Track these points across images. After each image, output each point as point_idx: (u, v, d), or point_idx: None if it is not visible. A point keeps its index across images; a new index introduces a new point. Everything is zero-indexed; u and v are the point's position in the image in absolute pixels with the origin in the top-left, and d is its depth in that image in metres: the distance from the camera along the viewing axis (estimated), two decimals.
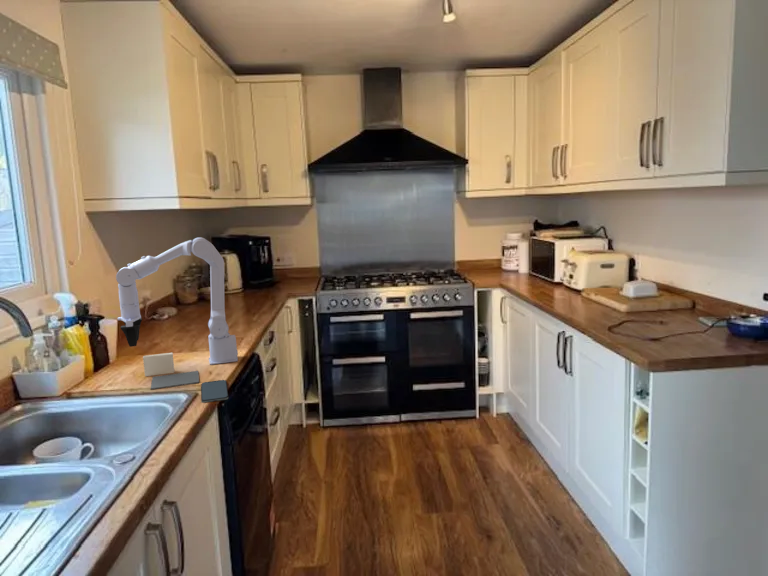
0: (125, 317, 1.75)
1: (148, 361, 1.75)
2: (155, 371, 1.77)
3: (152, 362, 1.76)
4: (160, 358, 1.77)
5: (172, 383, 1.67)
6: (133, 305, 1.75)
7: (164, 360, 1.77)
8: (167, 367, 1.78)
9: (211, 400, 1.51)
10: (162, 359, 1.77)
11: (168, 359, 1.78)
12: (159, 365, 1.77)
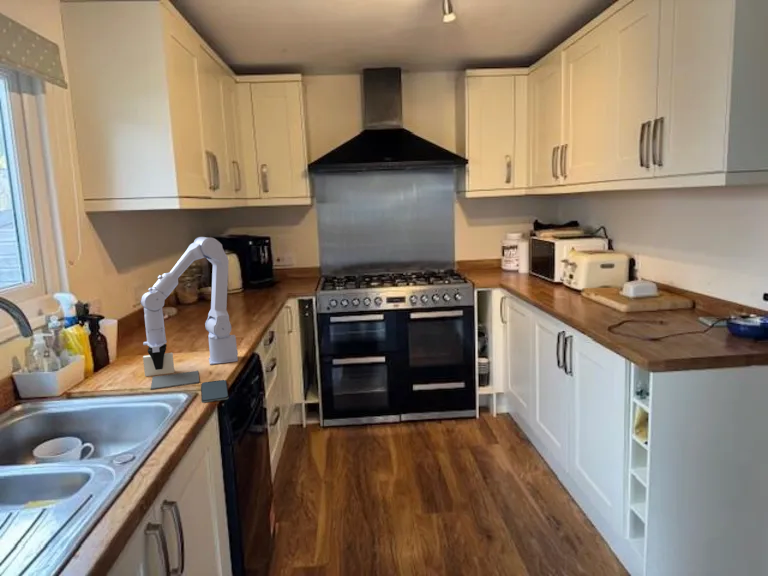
0: (151, 342, 1.74)
1: (148, 361, 1.75)
2: (155, 371, 1.77)
3: (152, 362, 1.76)
4: None
5: (172, 383, 1.67)
6: (159, 330, 1.74)
7: (164, 360, 1.77)
8: (167, 367, 1.78)
9: (211, 400, 1.51)
10: None
11: (168, 359, 1.78)
12: None
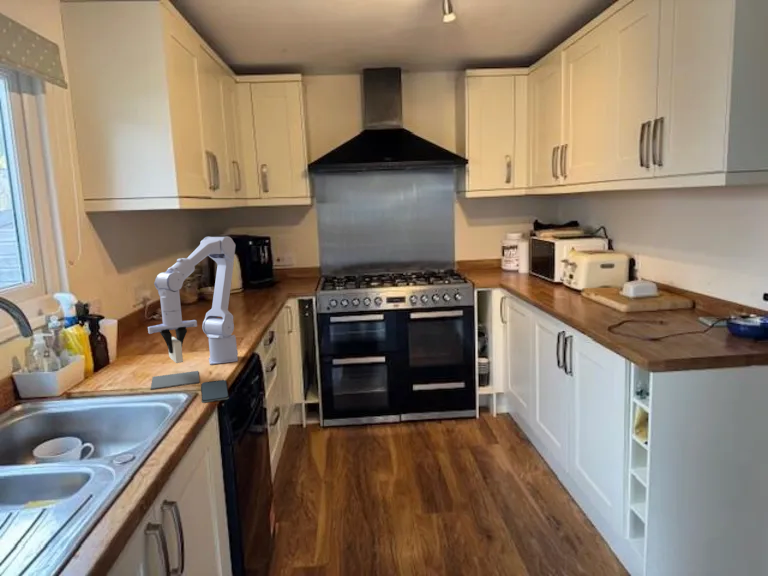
0: None
1: None
2: (171, 355, 1.72)
3: None
4: None
5: (172, 383, 1.67)
6: (164, 313, 1.66)
7: (172, 347, 1.69)
8: (174, 355, 1.69)
9: (211, 400, 1.51)
10: (172, 345, 1.69)
11: (173, 347, 1.68)
12: None
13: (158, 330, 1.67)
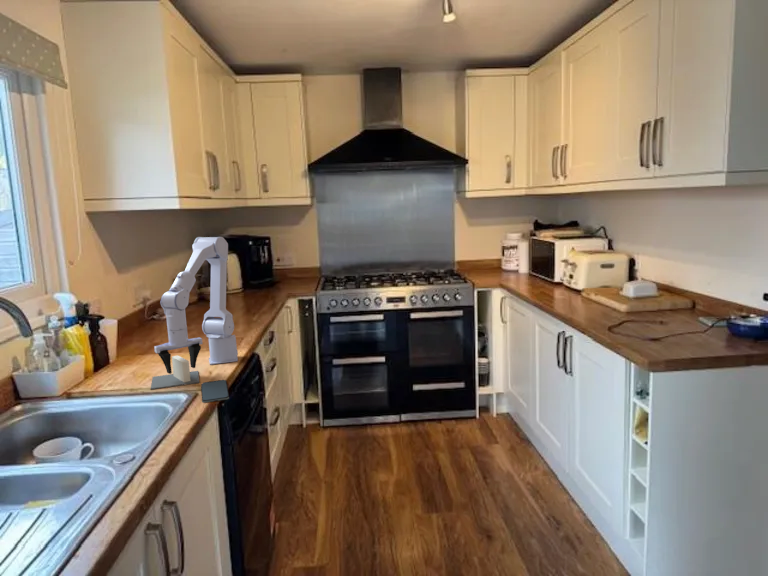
0: (169, 341, 1.69)
1: (173, 362, 1.72)
2: (177, 374, 1.71)
3: (175, 364, 1.71)
4: (178, 363, 1.69)
5: (172, 383, 1.67)
6: (171, 331, 1.66)
7: (179, 366, 1.68)
8: (181, 374, 1.68)
9: (211, 400, 1.51)
10: (178, 364, 1.69)
11: (181, 366, 1.67)
12: (178, 369, 1.70)
13: (165, 349, 1.66)
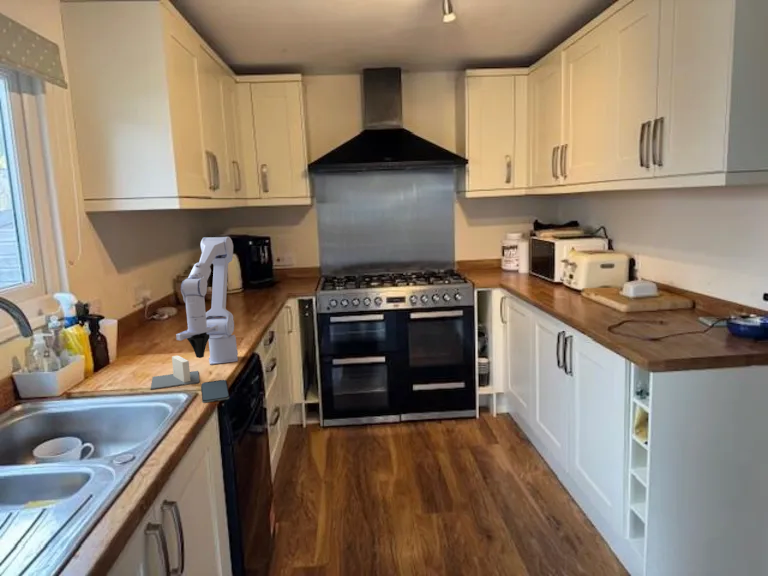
0: (188, 329, 1.69)
1: (173, 362, 1.72)
2: (177, 374, 1.71)
3: (175, 364, 1.71)
4: (178, 363, 1.69)
5: (172, 383, 1.67)
6: (192, 318, 1.67)
7: (179, 366, 1.68)
8: (181, 374, 1.68)
9: (212, 400, 1.51)
10: (178, 364, 1.69)
11: (181, 366, 1.67)
12: (178, 369, 1.70)
13: (186, 336, 1.67)
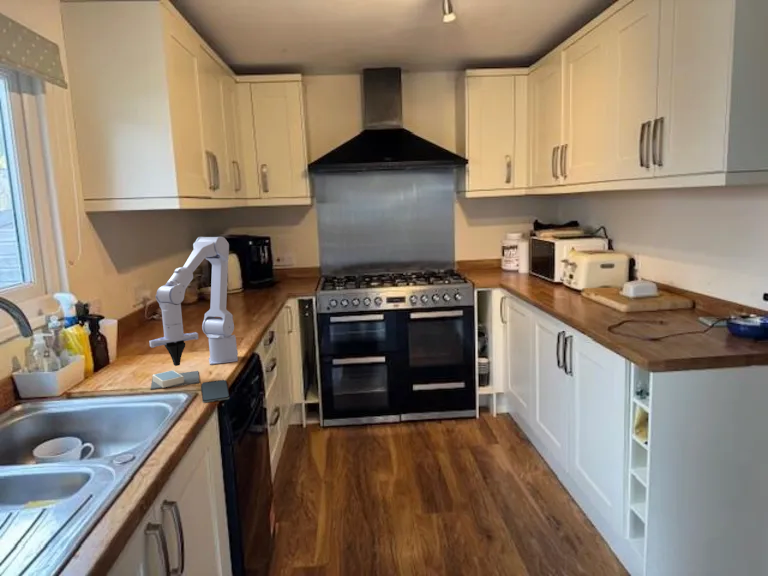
0: None
1: None
2: None
3: None
4: None
5: None
6: (166, 326, 1.65)
7: None
8: None
9: (212, 400, 1.51)
10: None
11: None
12: None
13: (160, 344, 1.66)
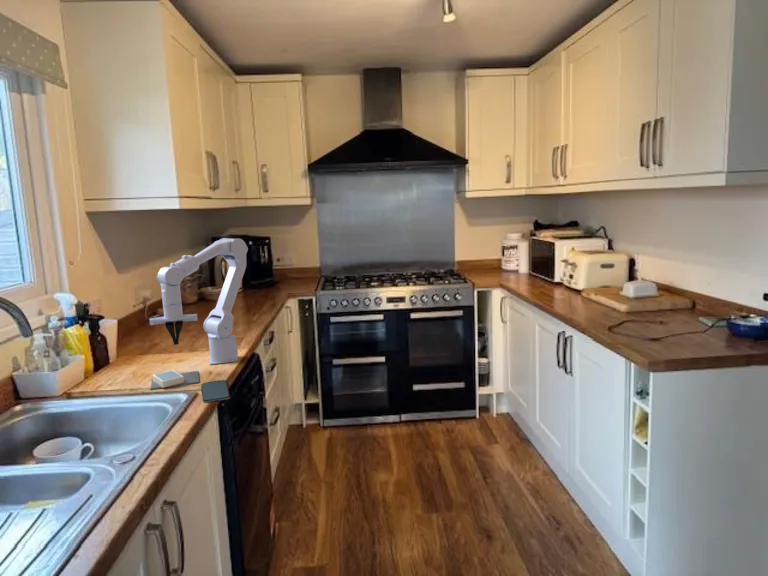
0: None
1: None
2: None
3: None
4: None
5: None
6: (164, 306, 1.72)
7: None
8: None
9: (212, 400, 1.51)
10: None
11: None
12: None
13: (159, 322, 1.74)
